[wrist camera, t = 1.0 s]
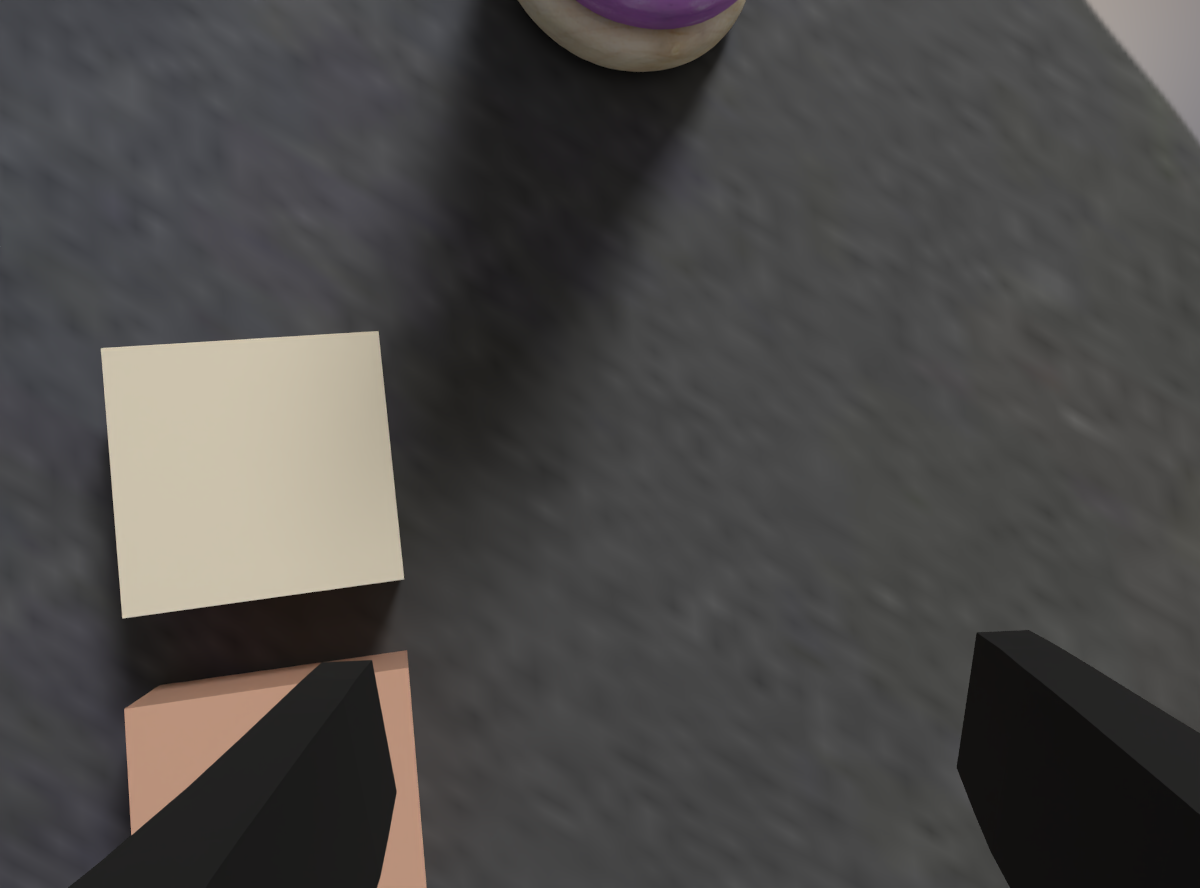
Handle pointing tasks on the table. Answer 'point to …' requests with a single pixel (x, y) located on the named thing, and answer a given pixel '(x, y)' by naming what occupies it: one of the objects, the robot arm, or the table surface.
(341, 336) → the sand tile
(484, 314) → the table surface
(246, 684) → the terracotta tile
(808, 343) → the table surface
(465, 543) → the table surface
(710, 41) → the stacking toy
